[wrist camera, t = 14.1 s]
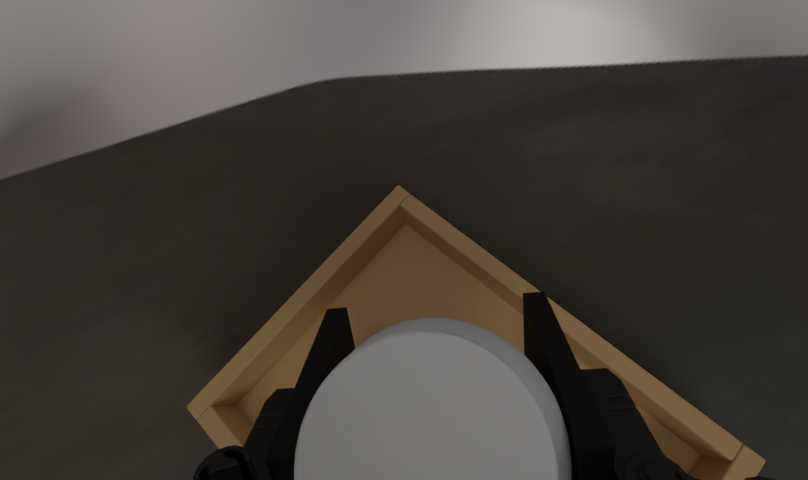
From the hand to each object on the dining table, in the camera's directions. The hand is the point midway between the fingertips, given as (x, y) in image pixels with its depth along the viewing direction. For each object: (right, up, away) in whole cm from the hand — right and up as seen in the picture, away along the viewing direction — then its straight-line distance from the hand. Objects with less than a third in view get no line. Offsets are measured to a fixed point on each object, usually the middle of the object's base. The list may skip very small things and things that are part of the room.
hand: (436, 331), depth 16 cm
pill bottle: (+1, -5, +2) cm, 5 cm away
